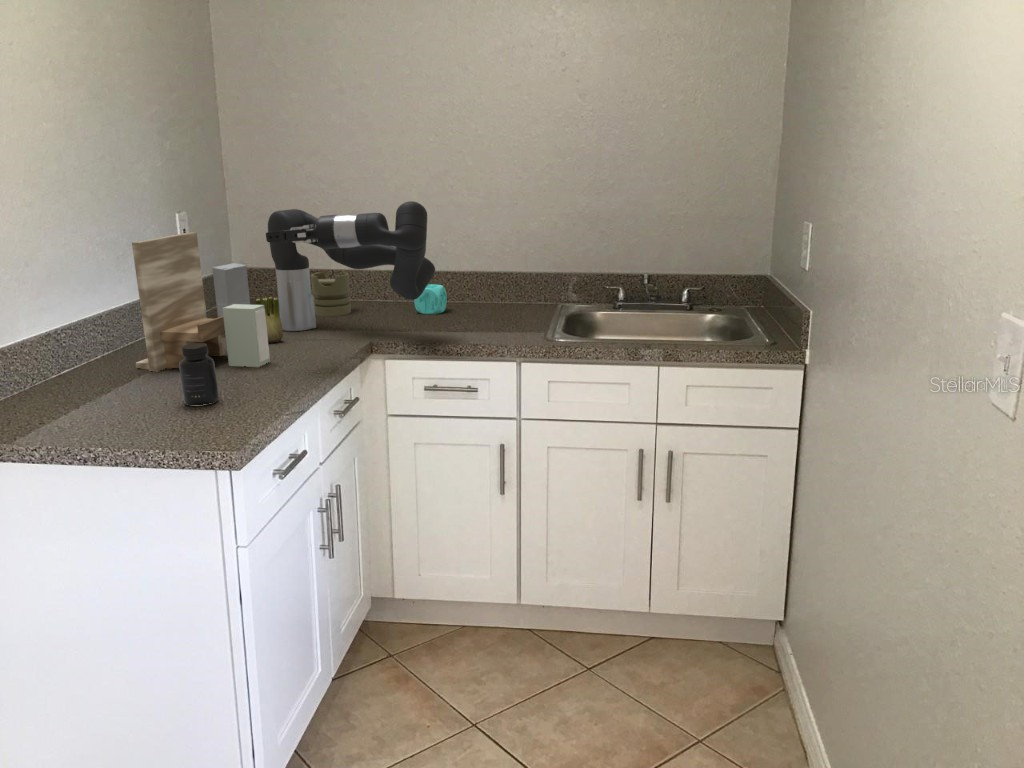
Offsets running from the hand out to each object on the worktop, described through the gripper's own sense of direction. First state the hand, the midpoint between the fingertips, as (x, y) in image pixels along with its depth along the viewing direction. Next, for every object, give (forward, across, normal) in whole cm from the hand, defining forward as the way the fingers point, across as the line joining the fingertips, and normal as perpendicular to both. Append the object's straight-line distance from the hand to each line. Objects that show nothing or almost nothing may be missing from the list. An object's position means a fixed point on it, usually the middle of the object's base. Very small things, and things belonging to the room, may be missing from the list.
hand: (275, 236), depth 195 cm
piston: (+15, +64, -27) cm, 71 cm away
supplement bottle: (+6, -31, -32) cm, 45 cm away
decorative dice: (-16, +68, -29) cm, 75 cm away
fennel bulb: (+16, +23, -28) cm, 40 cm away
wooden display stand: (+27, +1, -29) cm, 39 cm away
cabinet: (+11, 0, -30) cm, 32 cm away
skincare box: (+43, +55, -25) cm, 74 cm away
